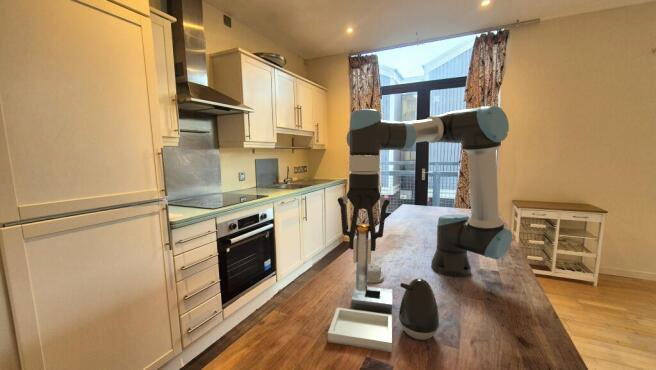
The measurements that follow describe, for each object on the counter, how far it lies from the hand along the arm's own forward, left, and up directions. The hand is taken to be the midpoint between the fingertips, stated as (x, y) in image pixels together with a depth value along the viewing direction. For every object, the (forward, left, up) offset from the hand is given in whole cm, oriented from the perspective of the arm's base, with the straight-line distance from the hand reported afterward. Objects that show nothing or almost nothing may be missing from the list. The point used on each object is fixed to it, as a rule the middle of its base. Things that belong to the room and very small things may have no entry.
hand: (362, 261), depth 72 cm
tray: (0, 0, -20) cm, 20 cm away
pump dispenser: (-15, -3, -20) cm, 25 cm away
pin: (0, 0, -8) cm, 8 cm away
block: (-2, -13, -20) cm, 24 cm away
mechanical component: (0, -34, -20) cm, 40 cm away
